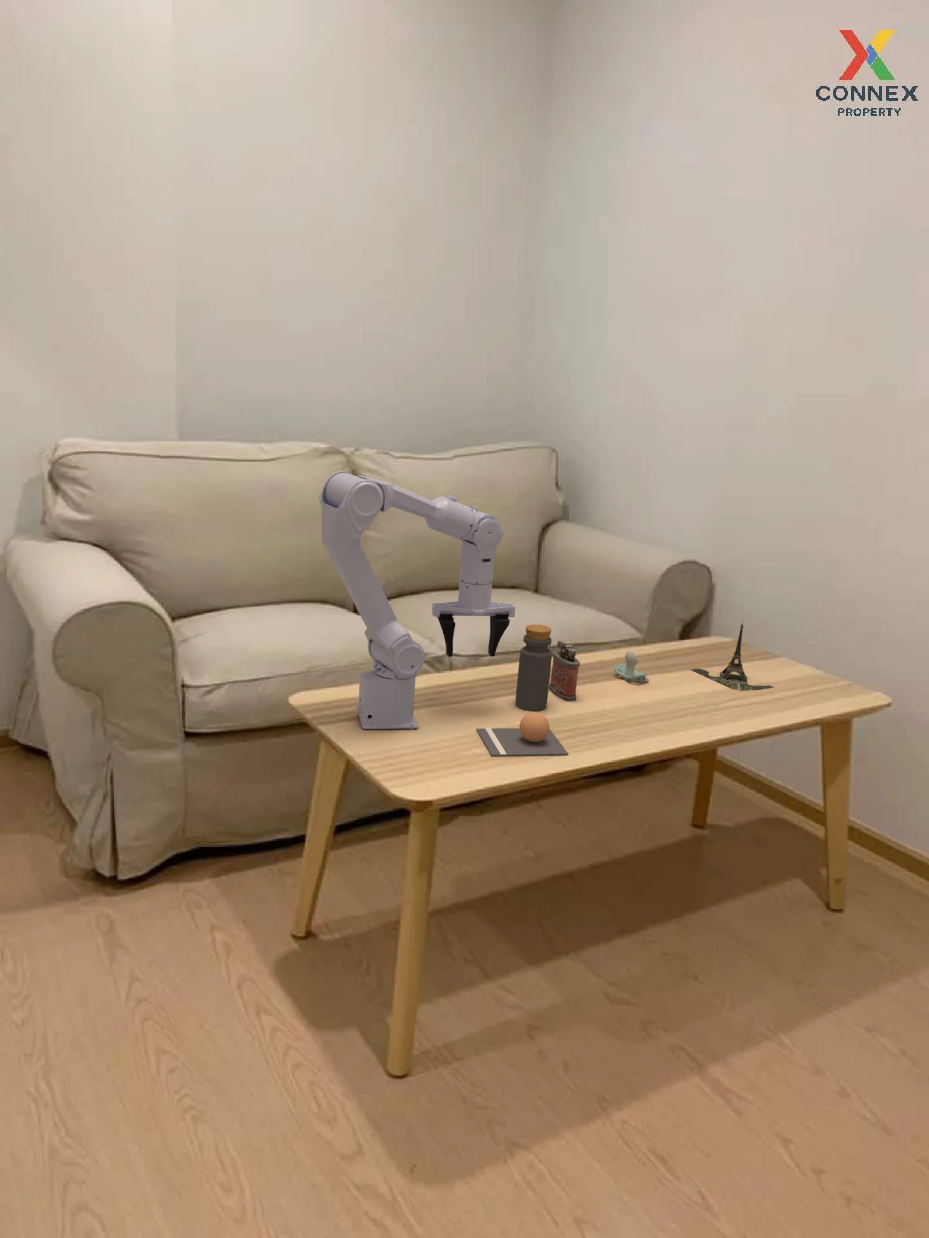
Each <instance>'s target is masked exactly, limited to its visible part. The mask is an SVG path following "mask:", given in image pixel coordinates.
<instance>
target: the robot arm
mask: <svg viewBox="0 0 929 1238" xmlns="http://www.w3.org/2000/svg"><path fill="white" fill-rule="evenodd" d="M318 499H319V503H320V506H321V541H322V544H323V546H324V549H325V550H326V552H327V554H328V556H329V558H330V560H331V562H332V564H333V565H334V567H335V569H336V571H337V574H338V575H339V577H340V579H341V581H342V583H343V585H344V587H345V588H346V591H347V592H348V594H349V596H350V598H351V600H352V603H353V604H354V605H355V608H356V609H357V612H358V614H359V615H360V617H361V619H362V621H363V623H364V624H365V626H366V629H365V630H364V635H365V637H366V641H367V652H368V654H369V656H370V657H371V659H373V669H372V670H368V671H367V670H366V671H361V673H360V675H359V676H360V677H359V685H358V686H359V687H358V688H359V689H358V690H359V691H358V703H357V704H358V705H357V714H358V715H357V716H358V720H359V721H360V725H361V728H362V729H364V730H376V729H377V730H389V729H390V730H393V729H396V730H398V729H399V730H400V729H403V730H404V729H405V730H406V729H418V728H419V724H418V722H417V720H416V717H415V715H414V708H415V707H414V706H415V705H414V704H415V692H416V690H415V689H416V678H417V674H418V673H419V671H421V669H422V668H423V666H424V664H425V658H426V657H425V656H426V655H425V651H424V648H423V646H422V645H421V644H419V643H418V642H417V641H415V640H414V639H413V638H412V636H411V634H410V632H409V631H408V630H407V629H406V628H405V626H404V625H403V624H402V623H401V621H399V619H398V618H397V616H396V613H394V610H393V608H392V606H391V604H390V602H389V600H388V598H387V596H386V594H385V592H384V589H383V588H382V586H381V584H380V581H379V580H378V578H377V576H376V574H375V571H374V570H373V568H372V565H371V564H370V562H369V560H368V558H367V555H366V554H365V552H364V549H363V547H362V546H361V544H360V542H359V541H360V539H361V537H362V535H363V534H364V533H365V532H366V530H367V529H368V527H369V526H370V525H371V523H372V522H373V521H374V520H375V518H376V517H377V515H379V513H380V512H381V513H386V512H387V511H389V510H390V509H391V508H395V509H398V510H401V511H404V512H406V513H409V514H413V515H415V516H417V517H418V516H419V517H421V518H424V520H425V523H426V525H427V526H428V528H429V529H430V530H433V531H434V532H435V531H436V532H438V533H441V534H443V535H446V536H449V537H452V538H455V539H457V540H459V541H461V554H460V565H459V566H460V567H459V568H460V570H459V581H458V582H459V583H458V599H457V601H449V602H448V601H447V602H432V605H431V615H432V616H433V617H434V618H437V621H438V622H439V625H440V628H441V631H442V634H443V639H444V644H445V654H446V655H447V657H452V658H453V654H454V635H455V630H456V629H455V628H456V622H455V618H454V617H453V616H455V617H458V616H459V617H468V616H469V617H489V638H488V639H489V640H488V647H487V648H488V649H487V650H488V651H487V652H488V655H489V656H490V657H495V655H496V652H497V649H498V646H499V644H500V641H501V639H502V637H503V635H504V633H505V631H507V629H508V628H509V626H510V622H511V620H510V618H515V614H516V606H515V605H514V604H513V603H503V602H502V603H501V602H500V603H499V602H493V601H491V600H492V591H493V580H494V579H493V576H494V564H495V555H496V554H497V549H498V548H497V547H498V545H500V543H501V541H502V540H503V537H504V533H505V532H504V531H503V530H502V526H501V523H500V521H498V518H497V517H495V516H494V515H491V514H489V513H486V512H483V511H480V510H479V507H477V506H474V505H472V504H471V505H470V506H468V505H465V504H463V503H460V502H458V501H457V500H458V498H457V497H455V496H452V495H449V494H448V495H446V497H445V496H438V497H436V498H433V499H432V500H430V499H428V498H426V497H424V496H422V495H420V494H417V493H414V492H412V491H411V490H407V489H406V488H403V487H400V486H399V485H397V484H393V483H391V482H388V481H385V480H381V479H377V478H373V477H369V476H366V475H361V474H357V475H354V474H352V473H351V472H350V471H346V470H345V471H344V470H339V471H338V470H337V471H335V472H334V473H331V475H329V476H328V477H327V478H326V480H325V482H324V483H323V487H322V489H321V491H320V493H319V496H318Z"/></svg>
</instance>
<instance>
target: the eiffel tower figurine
mask: <svg viewBox="0 0 929 1238" xmlns="http://www.w3.org/2000/svg"><path fill="white" fill-rule="evenodd" d="M743 629H744V621H742V623H741V624H740V630H739V634H738V638H737V643H736V648H735V651H734V653H733V657H732V658H731V660H730V662H728V665H727V666H726V667H725V668H724V669H723V670H722V671H720V672H719V676H715V675H714V676H713V675H710V672H709V671H708V670H705V669H701V668H691V669H690V670H691V671H692V672H693V671H694V672H696V673H697V674H700V675H701V676H703V677H706V678H708V679H710V680H713V681H714V682H715V681H716V682H717V683H719V684H721V685H723V686H725V687H728V688H730V690H731V689H732V690H737V691H742V692H746V691H747V692H749V691H760V690H761V691H762V690H766V689H768V688H774V686H773V685H769V684H768V685H767V684H766V685H761V684H760V685H757V684H756V685H753V684H748V676H747V675H746V674H745V672H744V669H743V663H742V661H741V659H742V653H741V650H742V648H741V647H742V637H743ZM736 660H737V661H738V662H737V663H736ZM735 673H737V674H735Z"/></svg>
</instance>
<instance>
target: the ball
mask: <svg viewBox="0 0 929 1238" xmlns="http://www.w3.org/2000/svg"><path fill="white" fill-rule="evenodd" d="M519 728H520V732H521V734H522V736H523V737H524V738H525V739H526V740H528V741H530V742H539V741H541V740H543V739H544V738H545V737H546V736H547V735H548V733H549V729H550V722H549V720H548V718H547V717H546V716H545V715H544V714H543V713H541V712H538V711H530V712H527V714H525V715H524V716H522V718H521V720H520V721H519Z"/></svg>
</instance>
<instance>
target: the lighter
mask: <svg viewBox="0 0 929 1238" xmlns="http://www.w3.org/2000/svg"><path fill="white" fill-rule="evenodd" d="M556 645H557V648H558V649H559V650H554V651H552V664H551V673H550V682H549V689H548V690H549V692H551V693H552V694H553V695H554V696H555V697H557V698H559V699H560V700H562V701H564V702H575V701H577V693H576V692H577V684H578V674H579V668H580V666H581V662H580V660H579V659H578V658H576V655H577V650H576V649H575V648H574V645H573V644H568V643H566V641H564V640H561V639H559V640H558V641H557V644H556Z"/></svg>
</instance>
